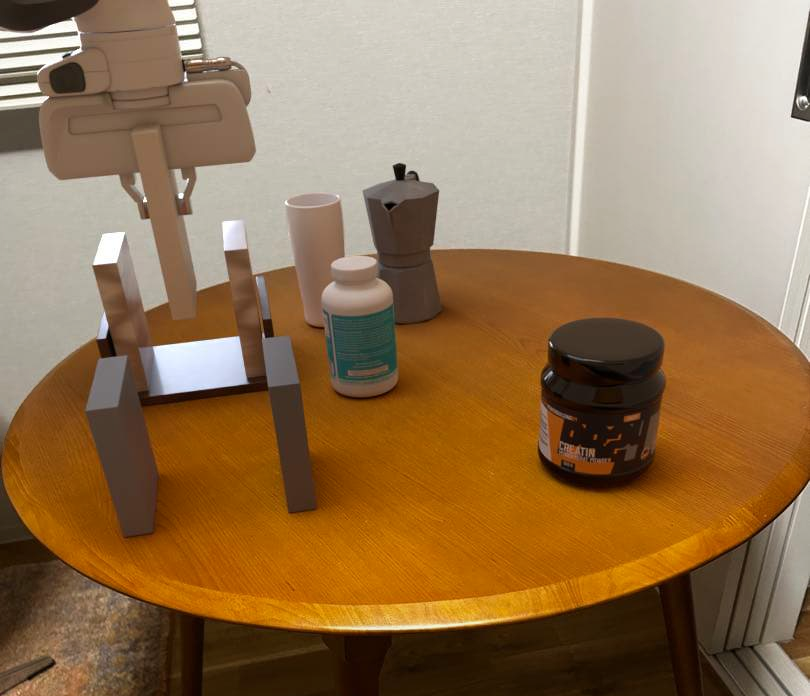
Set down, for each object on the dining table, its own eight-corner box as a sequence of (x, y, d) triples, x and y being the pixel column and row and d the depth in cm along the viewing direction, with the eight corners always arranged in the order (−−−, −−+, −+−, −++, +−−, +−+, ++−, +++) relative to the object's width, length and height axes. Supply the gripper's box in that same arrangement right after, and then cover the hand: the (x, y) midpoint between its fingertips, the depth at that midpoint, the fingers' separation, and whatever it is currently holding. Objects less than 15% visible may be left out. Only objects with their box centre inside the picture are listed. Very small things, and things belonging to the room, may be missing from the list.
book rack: (115, 409, 91) (76, 271, 82) (125, 357, 102) (92, 231, 93) (282, 388, 93) (261, 251, 84) (273, 339, 104) (255, 214, 95)
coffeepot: (433, 332, 104) (428, 177, 93) (359, 329, 105) (346, 177, 95) (453, 288, 116) (450, 146, 105) (386, 286, 118) (377, 147, 107)
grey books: (123, 537, 71) (84, 410, 64) (131, 477, 79) (98, 358, 72) (317, 509, 73) (299, 383, 66) (306, 452, 81) (289, 334, 74)
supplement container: (514, 468, 77) (518, 345, 70) (574, 423, 83) (583, 305, 76) (617, 506, 71) (633, 376, 64) (674, 454, 78) (694, 330, 71)
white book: (172, 321, 88) (130, 133, 78) (175, 286, 97) (138, 113, 86) (195, 318, 88) (157, 131, 78) (196, 283, 97) (162, 111, 87)
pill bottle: (412, 382, 93) (406, 259, 85) (363, 407, 88) (352, 280, 80) (366, 365, 97) (356, 246, 89) (317, 387, 93) (302, 265, 85)
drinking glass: (362, 321, 108) (352, 199, 99) (316, 335, 105) (301, 210, 96) (335, 307, 112) (323, 188, 103) (290, 320, 109) (274, 199, 100)
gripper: (244, 51, 83) (265, 198, 91) (29, 68, 80) (71, 217, 89) (247, 58, 78) (269, 213, 86) (17, 77, 75) (62, 235, 84)
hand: (167, 215), depth 87 cm, fingers closed on white book, 2 cm apart
